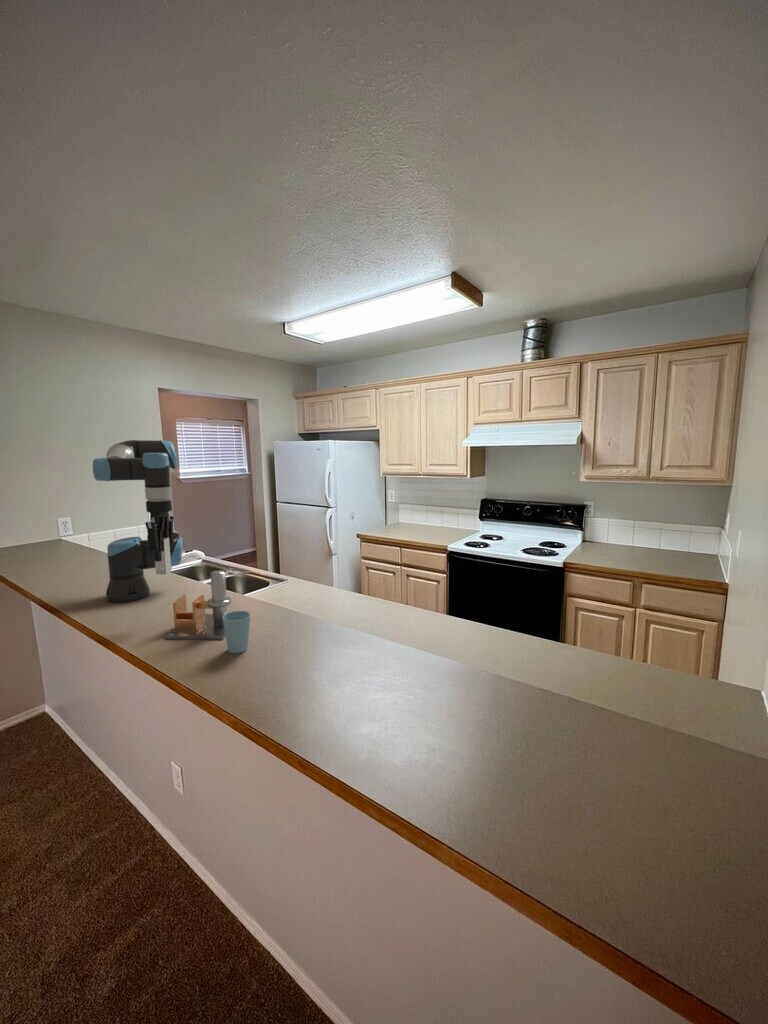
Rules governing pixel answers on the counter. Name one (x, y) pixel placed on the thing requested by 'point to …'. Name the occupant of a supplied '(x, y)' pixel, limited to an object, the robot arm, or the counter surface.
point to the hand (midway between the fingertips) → (163, 568)
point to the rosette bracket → (202, 613)
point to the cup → (237, 630)
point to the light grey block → (165, 556)
